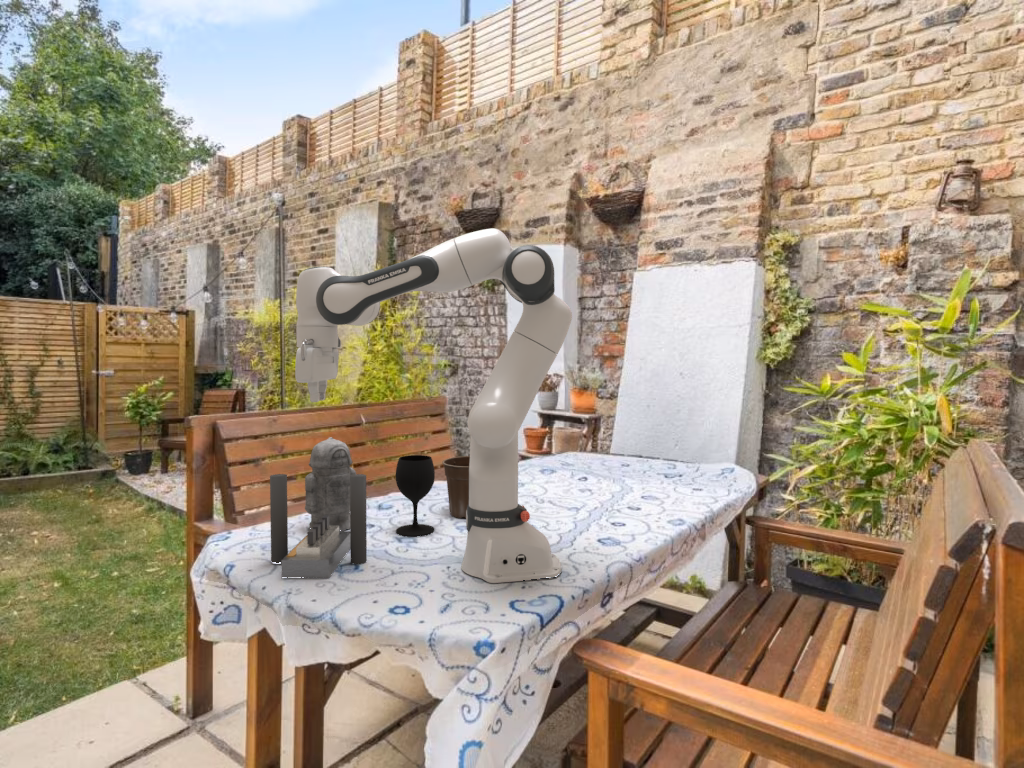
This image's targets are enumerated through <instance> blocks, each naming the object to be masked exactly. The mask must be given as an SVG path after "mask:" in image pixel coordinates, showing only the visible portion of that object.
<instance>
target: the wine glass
mask: <svg viewBox="0 0 1024 768" xmlns="http://www.w3.org/2000/svg"><path fill="white" fill-rule="evenodd" d="M435 477H436V476H435V467H434V461H433V458H432V457H431V456H429V455H424V454H423V455H422V454H421V455H419V454H414V455H413V454H411V455H404V456H401V457H398V461H397V464H396V468H395V483H396V486H397V488H398V490H399V492H400V493H401V494H402V495H403V496H404V497H405V498H406V499H407V500H409V501H410V502H411V503H412V508H413V509H412V510H413V511H412V512H413V513H412V514H413V517H412V518H413V519H412V524H406V525H402V526H400V527H397V528H396V530H395V533H396V534H397V535H398V534H399V536H401V535H402V536H401V537H405V536H407V537H408V538H418V537H417V536H420V537H425V535H426V536H429V535H432V534H434V532H435V528H434V526H432V525H429V524H425V523H424V524H422V523H419V521H418V505H419V502H420V501H421V500H422V499H424V498H425V497H426V496H427V495H428V494H429V492H430V491H431V490H432V488H433V487H434V483H435ZM431 533H432V534H431ZM428 534H429V535H428Z"/></svg>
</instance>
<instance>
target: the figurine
mask: <svg viewBox="0 0 1024 768" xmlns="http://www.w3.org/2000/svg"><path fill="white" fill-rule="evenodd" d="M352 464H353V460H352V458H351V451H350V449H349V447H348V445H347V444H346V442H343V441H341V440H339V439H335V438H333V437H332V436H331V437H330V436H328V438H327V439H325V440H322V441H319V442H318V443H317V444H315V445H314V446H313V448H312V450H311V454H310V458H309V462H308V466H309V467H310V468H311V470H312V471H311V472H310V473H308V474H307V475H306V476H305V477H304V484H305V485H304V489H305V503H304V504H305V505H304V510H305V511H306V513H307V514H309V515H310V517H311V519H310V522H309V529H310V528H311V529H312V527H313V526H314V525H315V524H317V522H318V521H319V520H322V517H323V516H324V515H329V526H339V531H340V530H344V531H347V530H346V529H348V530H350V476H351V475H355V474H357V472H356V470H355V469H354V468H353V467H351V465H352Z"/></svg>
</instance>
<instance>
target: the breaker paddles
mask: <svg viewBox="0 0 1024 768" xmlns="http://www.w3.org/2000/svg"><path fill="white" fill-rule="evenodd" d="M328 528H329V515H324V516H323V517H322V520H319V521H318V522H317V524H315V525H314V526H313V527H312V529H310V528H309V530H307V533H306V535H307V543H308V544H314V543H315V542H316V539H319V537H320V536H321V534H323V533H324V532H325V529H328Z"/></svg>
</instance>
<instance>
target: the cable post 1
mask: <svg viewBox="0 0 1024 768" xmlns="http://www.w3.org/2000/svg"><path fill="white" fill-rule="evenodd" d="M269 494H270V495H269V496H270V498H269V499H270V500H269V501H270V502H269V503H270V506H269V508H270V512H269V513H270V561H272V562H276V563H279V562H281V560H282V559H283V558H284V557H285V556H286V555H287V554H288V553H289V545H288V544H289V541H288V539H289V536H288V534H289V531H288V530H289V529H288V526H289V525H288V522H289V521H288V474H284V473H277V474H271V475H269Z"/></svg>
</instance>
